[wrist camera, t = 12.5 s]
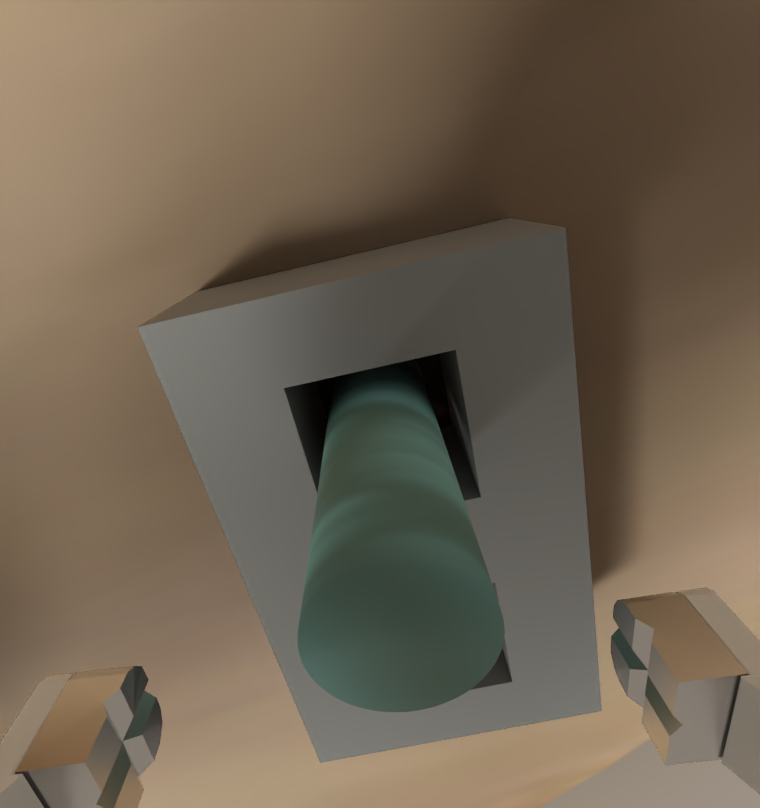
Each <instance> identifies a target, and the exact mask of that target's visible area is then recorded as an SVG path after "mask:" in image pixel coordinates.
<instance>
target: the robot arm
mask: <svg viewBox="0 0 760 808" xmlns="http://www.w3.org/2000/svg"><path fill="white" fill-rule="evenodd" d="M613 618H614V620H615V622H616V623H617V625H618V627H619V628H618V630H617V631H616V632H615V633H614V634H613V635H612V636H611V655H612V659H613V664H614V669H615V671H616V674H617V676H618V679H619V681H620V683H621V685H622V687H623V689H624V691H625V693H626V695H627V696H628V697H629V698H630V699H632V700H633V701H635V702H636V703H637V704H639V705H640V706H642V707H643V717H642V724H643V726H644V728H645V729H646V731H647V733H648V735H649V737H650V738H651V740H652V742H653V744H654V745H655V747H656V749H657V751H658V753H659V755H660V756H661V758H662V760H663V762H664V764H665V765H674V764H683V763H692V762H702V761H712V760H722V764H724V765H725V766H726V767H727V768H728V769H730V770H731V771H732V772H733V773H735V774H736V775H737V776H738V777H739V778H741V779H742V780H743V781H744V782H745V783H747V784H748V785H749V786H750V787H751V788H753V789H754V790H755V791H756V792H758V793H759V794H760V641H759V639H758V638H757V637H756V636H755V635H754V634H753V633H752V632H751V631H750V630H749V629H748V628H747V626H746V625H745V624H744V623H743V622H742V621H741V620H740V619H739V618H738V617H737V616H736V614H735V613H734V612H733V611H732V610H731V609H730V608H729V607H728V606H727V605H726V604H725V603H724V601H723V600H722V599H721V598H720V597H719V596H718V595H717V594H716V593H715V592H714V591H712V590H710V589H709V588H700V589H692V590H685V591H678V592H675V593H674V592H669V593H662V594H656V595H649V596H642V597H635V598H629V599H622V600H617V602H616V603H615V605H614V610H613ZM147 682H148V678H147V676H146V674H145V672H144V670H143V668H142V666H130V667H121V668H112V669H102V670H93V671H84V672H77V673H69V674H60V675H52V676H48V677H46V678H45V679H44V680H42V681H41V682H40V683H39V684H38V685H37V686H36V688H35V689H34V691H33V692H32V694H31V696H30V697H29V699H28V700H27V702H26V703H25V705H24V707H23V708H22V710H21V711H20V713H19V714H18V716H17V717H16V719H15V721H14V722H13V724H12V725H11V727H10V728H9V730H8V732H7V733H6V735H5V736H4V738H3V739H2V741H1V742H0V808H138V805H139V802H140V799H141V796H142V794H143V791H144V789H143V786H142V783H141V780H140V775H141V774H142V773H143V772H144V771H145V770H146V769H147V767H148V766H149V765H150V764H151V763H152V762H153V761H154V759H155V756H156V753H157V750H158V747H159V744H160V738H161V729H162V716H161V708H160V706H159V703H158V701H157V698H155V697H154V696H152V695H151V694H149V693H147V692H146V691H144V690H145V687H146V685H147Z"/></svg>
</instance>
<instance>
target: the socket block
mask: <svg viewBox="0 0 760 808" xmlns="http://www.w3.org/2000/svg"><path fill="white" fill-rule="evenodd" d="M137 328H138V330H139V333H140V335H141V337H142V340H143V342H144V345H145V347H146V349H147V352H148V354H149V356H150V359H151V361H152V364H153V366H154V368H155V371H156V373H157V375H158V378H159V380H160V383H161V385H162V387H163V390H164V392H165V395H166V397H167V399H168V402H169V404H170V406H171V409H172V411H173V414H174V416H175V418H176V421H177V423H178V425H179V428H180V430H181V433H182V435H183V437H184V440H185V442H186V444H187V447H188V449H189V452H190V454H191V456H192V459H193V461H194V463H195V466H196V468H197V471H198V473H199V475H200V478H201V480H202V483H203V485H204V487H205V490H206V492H207V494H208V497H209V499H210V502H211V504H212V506H213V509H214V511H215V513H216V516H217V518H218V521H219V523H220V525H221V528H222V530H223V532H224V535H225V537H226V540H227V542H228V544H229V547H230V549H231V551H232V554H233V556H234V559H235V561H236V563H237V566H238V568H239V571H240V573H241V575H242V578H243V580H244V582H245V585H246V587H247V590H248V592H249V594H250V597H251V599H252V601H253V604H254V606H255V609H256V611H257V613H258V616H259V618H260V620H261V623H262V625H263V628H264V630H265V632H266V635H267V637H268V639H269V642H270V644H271V647H272V649H273V651H274V654H275V656H276V659H277V661H278V663H279V666H280V668H281V670H282V673H283V675H284V678H285V680H286V682H287V685H288V687H289V689H290V692H291V694H292V697H293V699H294V701H295V704H296V706H297V708H298V711H299V713H300V716H301V718H302V720H303V723H304V725H305V727H306V730H307V732H308V735H309V737H310V739H311V742H312V744H313V747H314V749H315V751H316V754H317V756H318V758H319V761H320V763H321V762H327V761H332V760H338V759H343V758H349V757H354V756H359V755H365V754H370V753H376V752H381V751H387V750H392V749H397V748H403V747H408V746H414V745H419V744H425V743H430V742H435V741H441V740H446V739H452V738H457V737H463V736H468V735H473V734H479V733H484V732H490V731H495V730H501V729H506V728H511V727H517V726H522V725H528V724H533V723H539V722H544V721H549V720H555V719H560V718H566V717H571V716H577V715H582V714H587V713H593V712H598V711H602V709H601V696H600V682H599V669H598V655H597V642H596V628H595V615H594V601H593V588H592V574H591V560H590V547H589V533H588V520H587V506H586V493H585V479H584V466H583V452H582V439H581V425H580V412H579V398H578V385H577V371H576V358H575V344H574V330H573V317H572V303H571V290H570V276H569V263H568V249H567V236H566V227H562V226H556V225H550V224H544V223H538V222H532V221H526V220H519V219H513V218H506V219H502V220H498V221H493V222H489V223H485V224H481V225H477V226H472V227H468V228H464V229H460V230H455V231H451V232H447V233H443V234H438V235H434V236H430V237H426V238H421V239H417V240H413V241H409V242H405V243H400V244H396V245H392V246H388V247H383V248H379V249H375V250H371V251H366V252H362V253H358V254H354V255H349V256H345V257H341V258H337V259H333V260H328V261H324V262H320V263H316V264H311V265H307V266H303V267H299V268H294V269H290V270H286V271H282V272H277V273H273V274H269V275H265V276H261V277H256V278H252V279H248V280H244V281H239V282H235V283H231V284H227V285H222V286H218V287H214V288H210V289H205V290H201V291H197V292H195V293H193V294H192V295H190V296H188V297H187V298H185V299H183V300H182V301H180V302H179V303H177V304H175V305H174V306H172V307H170V308H169V309H167V310H165V311H164V312H162V313H160V314H159V315H157V316H155V317H154V318H152V319H150V320H149V321H147V322H145V323H144V324H142V325H140V326H139V327H137ZM435 354H439V355H440V361H441V366H442V372H443V377H444V382H445V388H446V393H447V399H448V404H449V410H450V415H451V420H452V426H449V427H444V428H440V431H441V434H442V437H443V440H444V443H445V446H446V449H447V452H448V454H449V457H450V460H451V463H452V466H453V469H454V472H455V475H456V478H457V481H458V484H459V487H460V490H461V493H462V496H463V499H464V502H465V505H466V508H467V511H468V514H469V517H470V520H471V523H472V526H473V529H474V532H475V535H476V538H477V541H478V544H479V547H480V550H481V553H482V555H483V558H484V561H485V564H486V567H487V570H488V573H489V576H490V579H491V582H492V585H493V588H494V591H495V594H496V597H497V600H498V603H499V606H500V609H501V612H502V616H503V620H504V628H505V633H504V642H503V646H502V650H501V652H500V655H499V657H498V659H497V661H496V663H495V664H494V666H493V667H492V669H491V670H490V671H489V673H488V674H487V675H486V676H485V677H484V678H483V679H482V680H481V681H480V682H479V683H478V684H477V685H476V686H474V687H473V688H472V689H470V690H469V691H467V692H466V693H464V694H463V695H461V696H459V697H457V698H455V699H453V700H451V701H449V702H446V703H444V704H441V705H438V706H435V707H432V708H427V709H423V710H417V711H410V712H381V711H373V710H368V709H364V708H359V707H356V706H353V705H350V704H348V703H346V702H343V701H341V700H339V699H337V698H335V697H334V696H332V695H330V694H329V693H327V692H326V691H325V690H324V689H322V688H321V687H320V686H319V685H318V684H317V683H316V682H315V681H314V680H313V679H312V678H311V676H310V675H309V674H308V672H307V671H306V669H305V667H304V665H303V663H302V661H301V658H300V655H299V651H298V643H297V637H298V627H299V620H300V612H301V605H302V598H303V591H304V584H305V577H306V570H307V563H308V556H309V549H310V542H311V535H312V528H313V521H314V514H315V507H316V500H317V493H318V486H319V479H320V472H321V465H322V458H323V451H324V444H325V437H326V430H327V423H328V422H327V419H326V415H325V412H324V408H323V405H322V401H321V398H320V395H319V391H318V388H317V384H316V381H319V380H323V379H327V378H332V377H336V376H341V375H345V374H350V373H354V372H359V371H363V370H368V369H372V368H377V367H381V366H386V365H390V364H394V363H399V362H403V361H408V360H412V359H417V358H421V357H426V356H430V355H435Z"/></svg>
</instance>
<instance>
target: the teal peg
mask: <svg viewBox="0 0 760 808" xmlns="http://www.w3.org/2000/svg"><path fill="white" fill-rule="evenodd" d="M504 633H505V628H504V620H503V616H502V612H501V609H500V606H499V603H498V600H497V597H496V594H495V591H494V588H493V585H492V582H491V579H490V576H489V573H488V570H487V567H486V564H485V561H484V558H483V555H482V553H481V550H480V547H479V544H478V541H477V538H476V535H475V532H474V529H473V526H472V523H471V520H470V517H469V514H468V511H467V508H466V505H465V502H464V499H463V496H462V493H461V490H460V487H459V484H458V481H457V478H456V475H455V472H454V469H453V466H452V463H451V460H450V457H449V454H448V452H447V449H446V446H445V443H444V440H443V437H442V434H441V431H440V428H439V425H438V422H437V419H436V416H435V413H434V410H433V407H432V404H431V401H430V398H429V395H428V392H427V389H426V386H425V383H424V380H423V377H422V374H421V371H420V369H419V367H418V365H417V363H416V361H415V360H414V359H412V360H408V361H403V362H399V363H394V364H390V365H386V366H381V367H377V368H372V369H368V370H363V371H359V372H354V373H350V374H345V375H341V376H336V377H334V381H333V388H332V395H331V402H330V409H329V416H328V423H327V430H326V437H325V444H324V451H323V458H322V465H321V472H320V479H319V486H318V493H317V500H316V507H315V514H314V521H313V528H312V535H311V542H310V549H309V556H308V563H307V570H306V577H305V584H304V591H303V598H302V605H301V612H300V620H299V627H298V637H297V643H298V651H299V655H300V658H301V661H302V663H303V665H304V667H305V669H306V671H307V672H308V674H309V675H310V676H311V678H312V679H313V680H314V681H315V682H316V683H317V684H318V685H319V686H320V687H321V688H322V689H324V690H325V691H326V692H327V693H329V694H330V695H332V696H334V697H335V698H337V699H339V700H341V701H343V702H346V703H348V704H350V705H353V706H356V707H359V708H364V709H368V710H373V711H381V712H410V711H417V710H423V709H427V708H432V707H435V706H438V705H441V704H444V703H446V702H449V701H451V700H453V699H455V698H457V697H459V696H461V695H463V694H464V693H466V692H467V691H469V690H470V689H472V688H473V687H474V686H476V685H477V684H478V683H479V682H480V681H481V680H482V679H483V678H484V677H485V676H486V675H487V674H488V673H489V671H490V670H491V669H492V667H493V666H494V664H495V663H496V661H497V659H498V657H499V655H500V652H501V650H502V646H503V642H504Z"/></svg>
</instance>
